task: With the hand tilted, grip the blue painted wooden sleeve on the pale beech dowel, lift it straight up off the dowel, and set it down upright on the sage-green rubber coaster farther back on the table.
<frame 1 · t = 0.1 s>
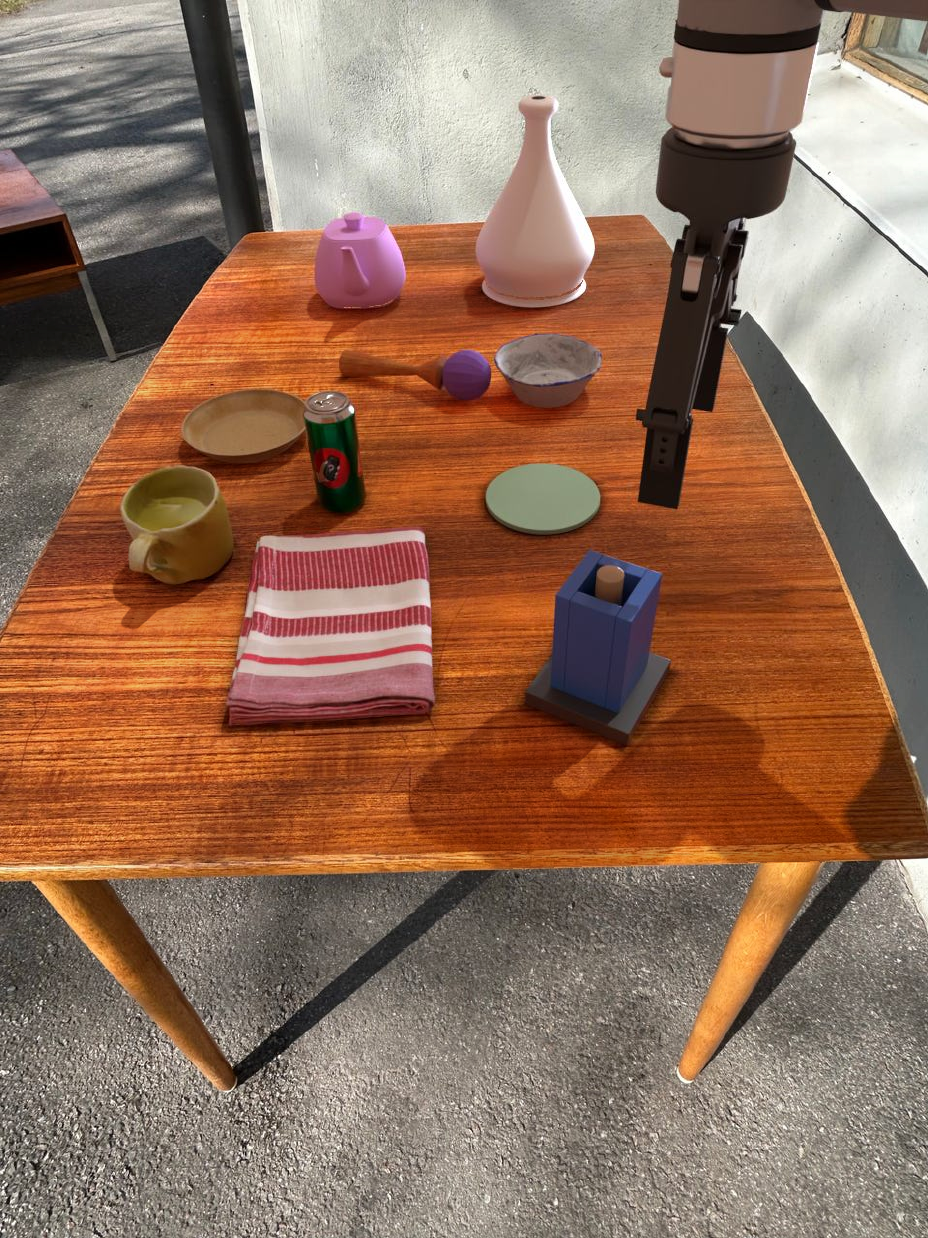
hand: (678, 452, 64), 19 cm above the table, tool pointing down, fingers open, 13 cm apart
purple maraca: (416, 389, 110), on the table
coaster: (542, 499, 92), on the table
vase: (533, 286, 131), on the table
sleeve: (599, 675, 71), point 1 cm above the table, touching dowel stand
teapot: (362, 301, 130), on the table
dowel stand: (597, 688, 72), on the table
bowl: (547, 392, 108), on the table
plant saucer: (251, 440, 102), on the table
mug: (183, 571, 85), on the table
dish towel: (339, 625, 79), on the table
soda can: (343, 503, 92), on the table
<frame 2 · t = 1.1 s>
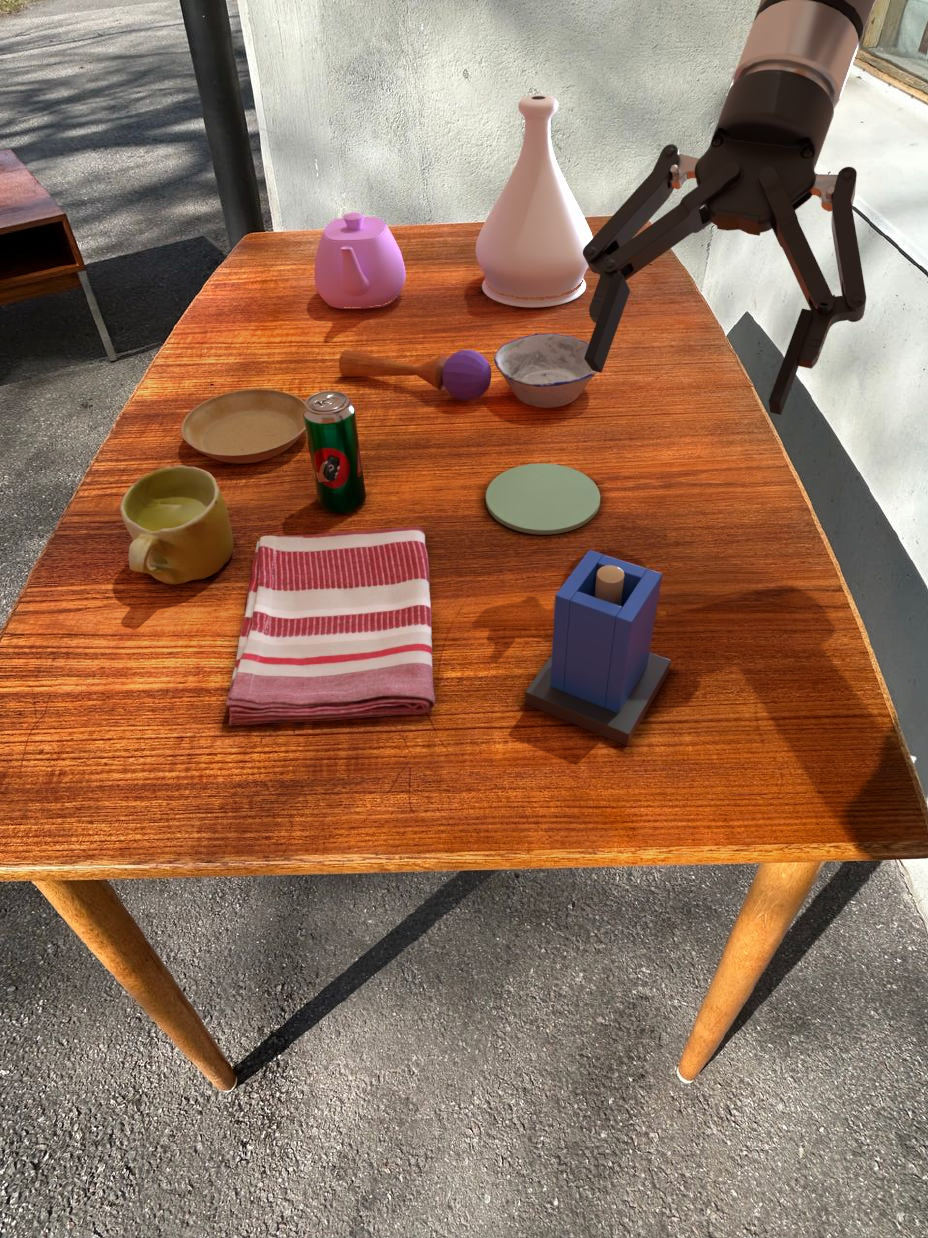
hand: (680, 386, 63), 23 cm above the table, tool tilted 45°, fingers open, 13 cm apart
nothing on the table moved.
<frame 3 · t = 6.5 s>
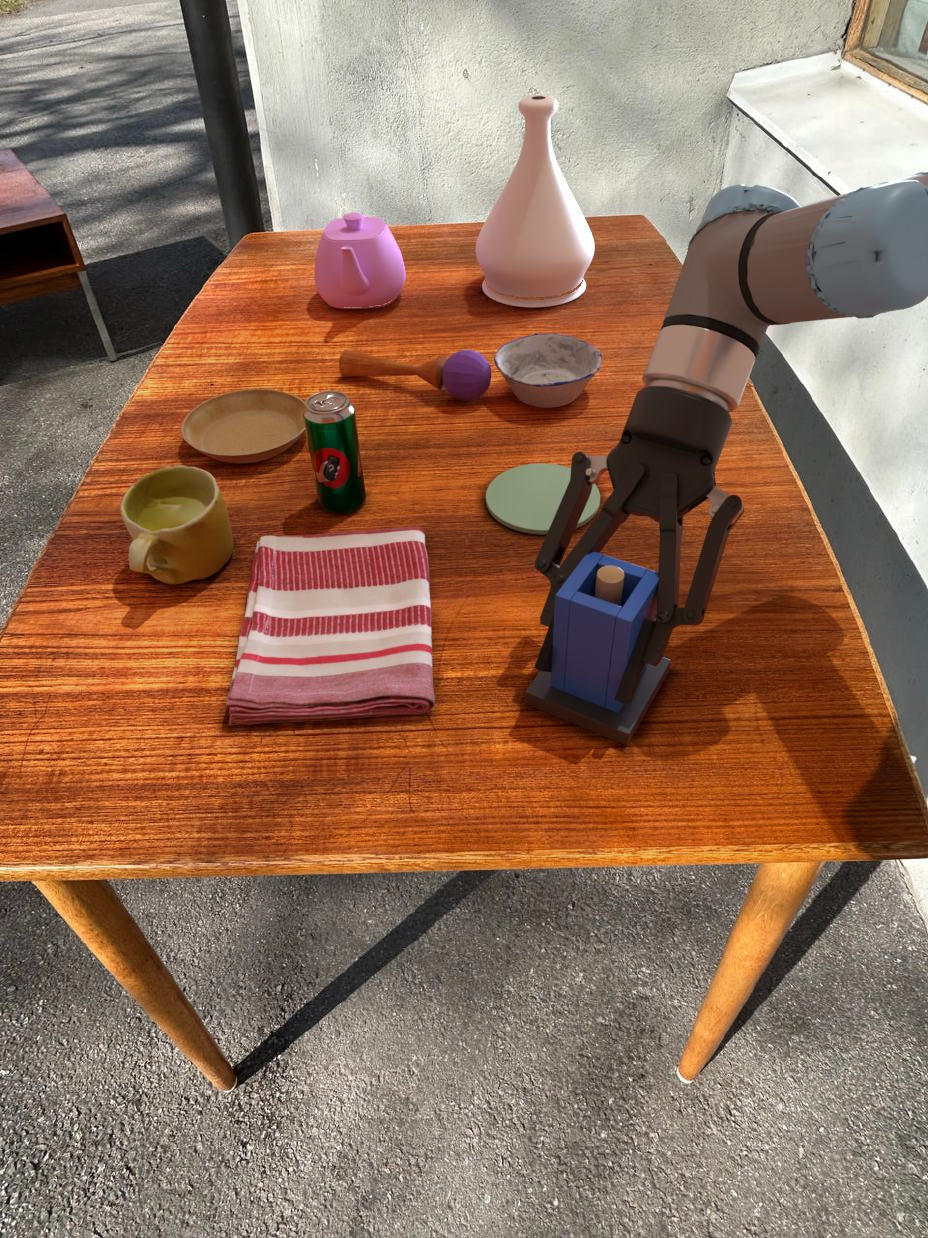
hand: (582, 685, 67), 4 cm above the table, tool tilted 45°, fingers closed on sleeve, 6 cm apart
sleeve: (599, 675, 71), point 2 cm above the table, touching dowel stand, gripper
everything else where it was.
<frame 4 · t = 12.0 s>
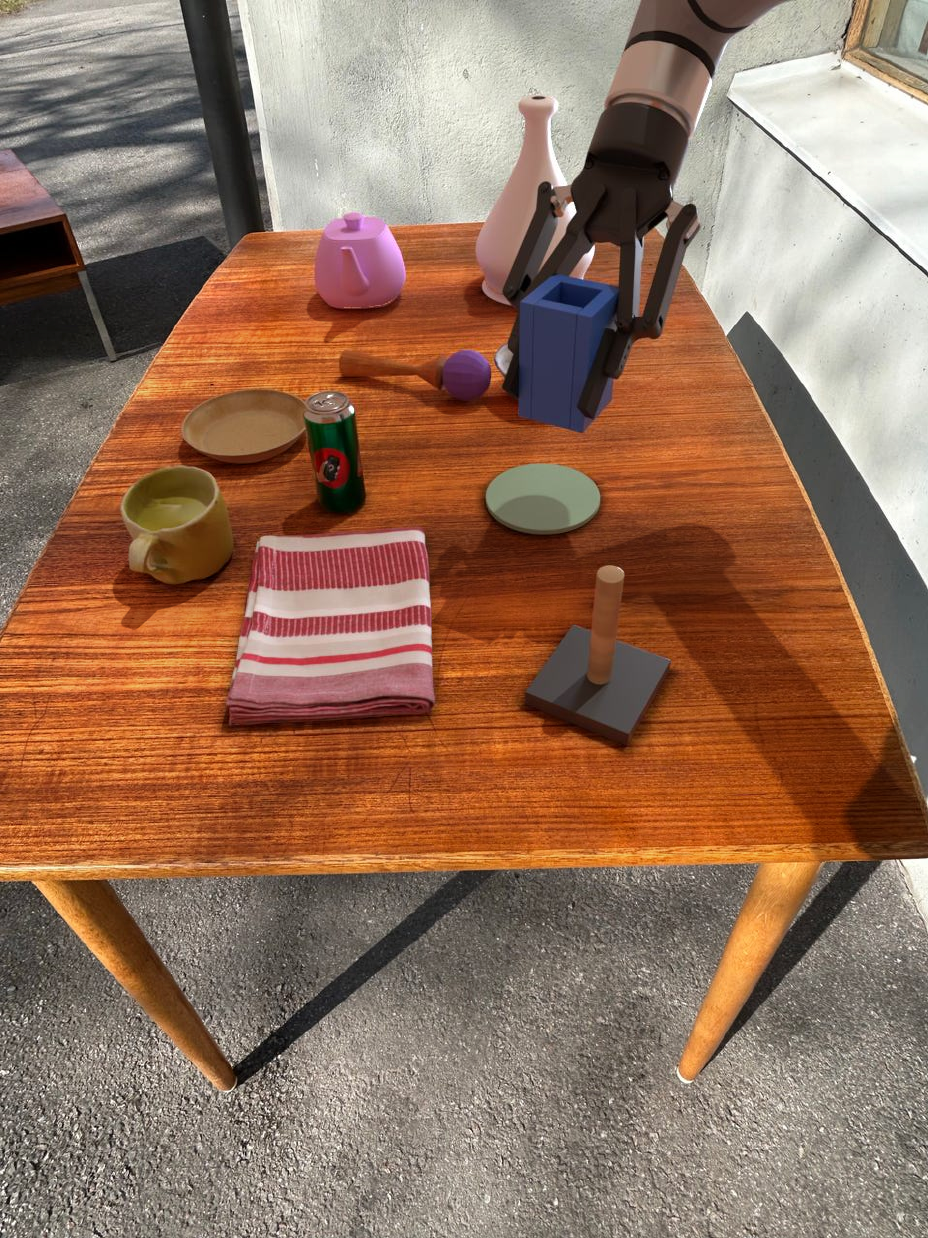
hand: (547, 402, 71), 18 cm above the table, tool tilted 45°, fingers closed on sleeve, 6 cm apart
sleeve: (565, 408, 74), point 16 cm above the table, touching gripper
everything else where it was.
when the fingers open (3 cm above the table, at t = 17.5 s): sleeve stays where it is, resting on coaster.
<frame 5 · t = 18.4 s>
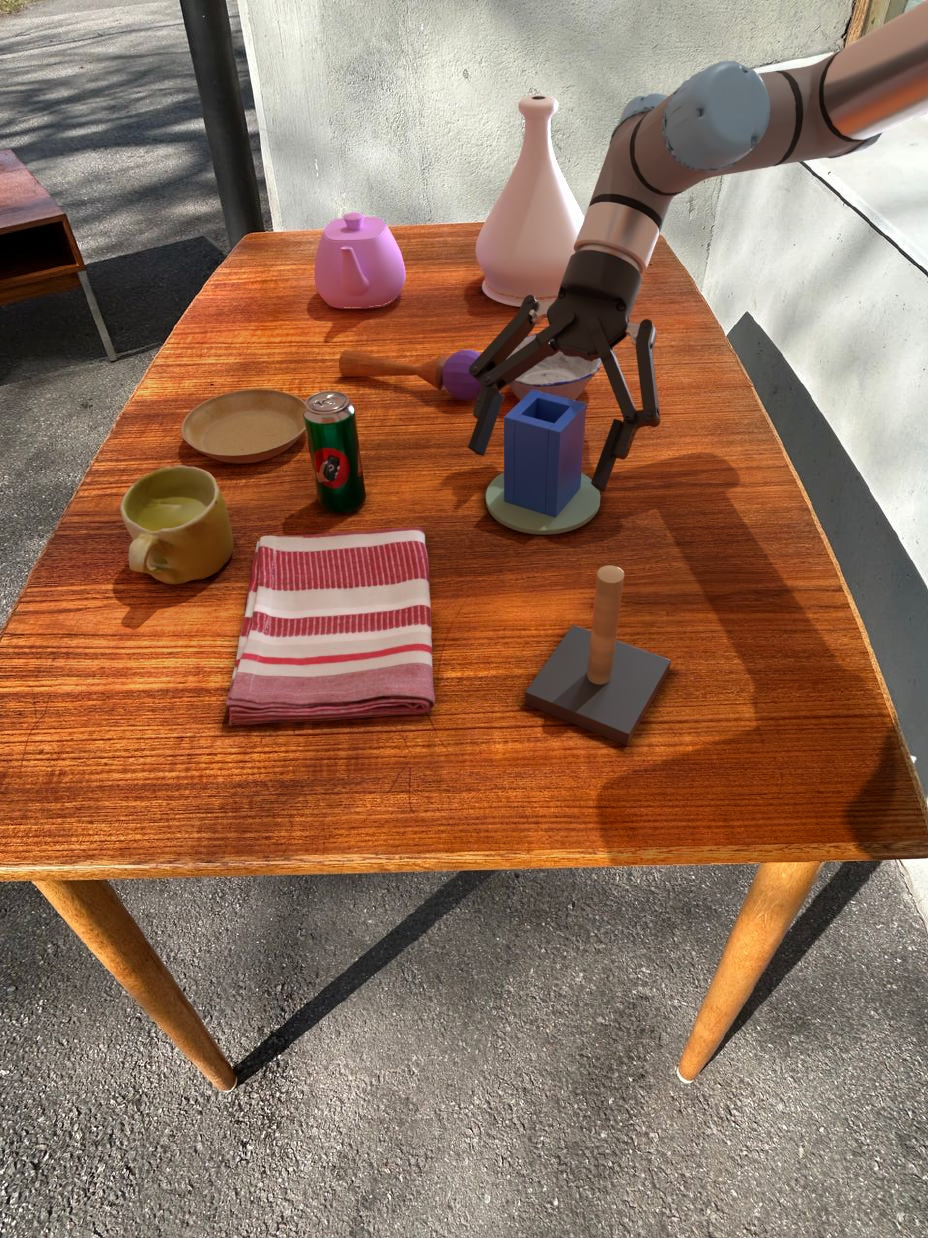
hand: (534, 469, 87), 5 cm above the table, tool tilted 45°, fingers open, 13 cm apart
sleeve: (542, 494, 91), point 1 cm above the table, touching coaster
everything else where it was.
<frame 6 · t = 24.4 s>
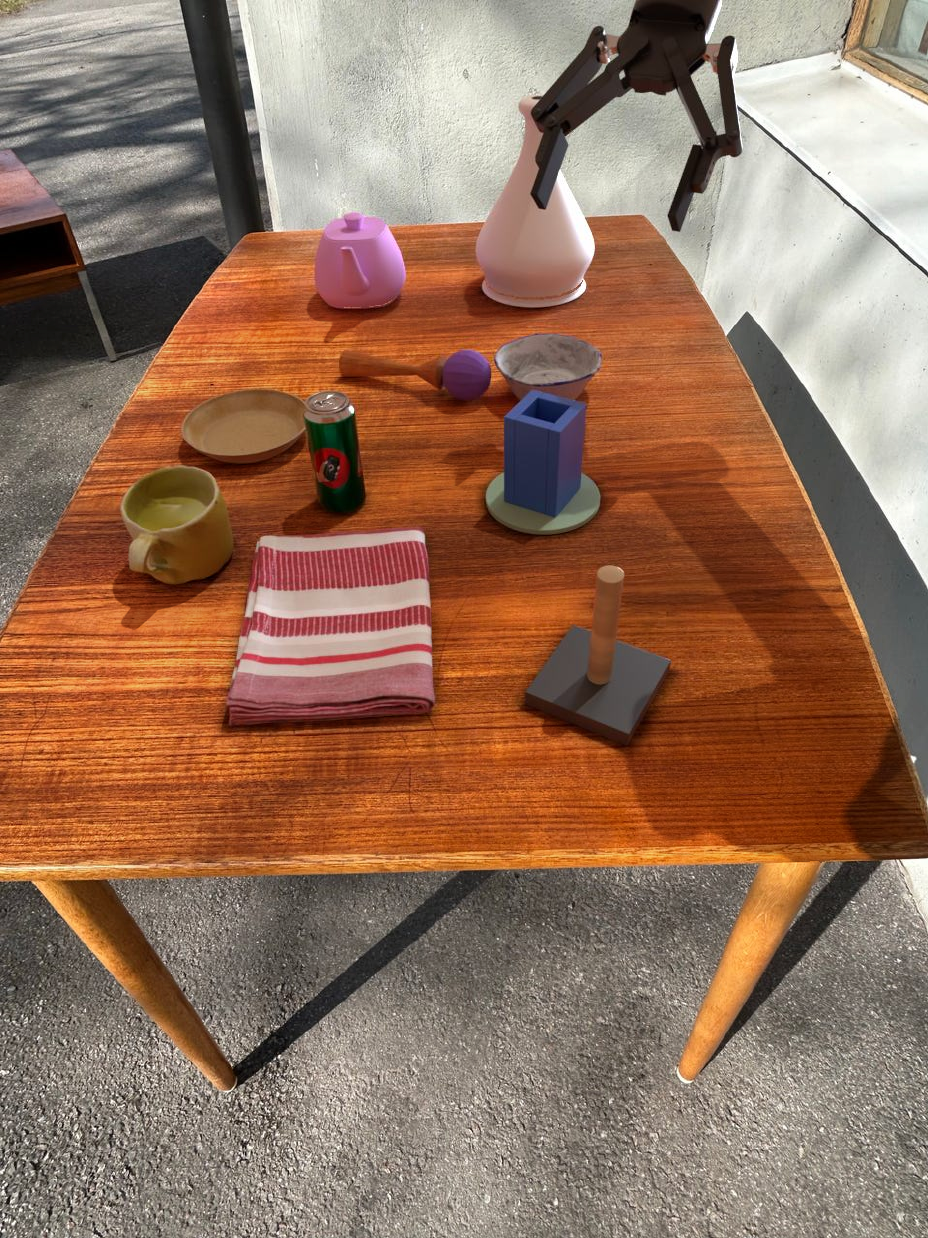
hand: (603, 212, 80), 26 cm above the table, tool tilted 45°, fingers open, 13 cm apart
nothing on the table moved.
at the end: sleeve inside the target area on the coaster (0.1 cm from its centre), point 0.6 cm above the coaster's base; sleeve tilted 0°; the gripper is holding nothing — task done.
